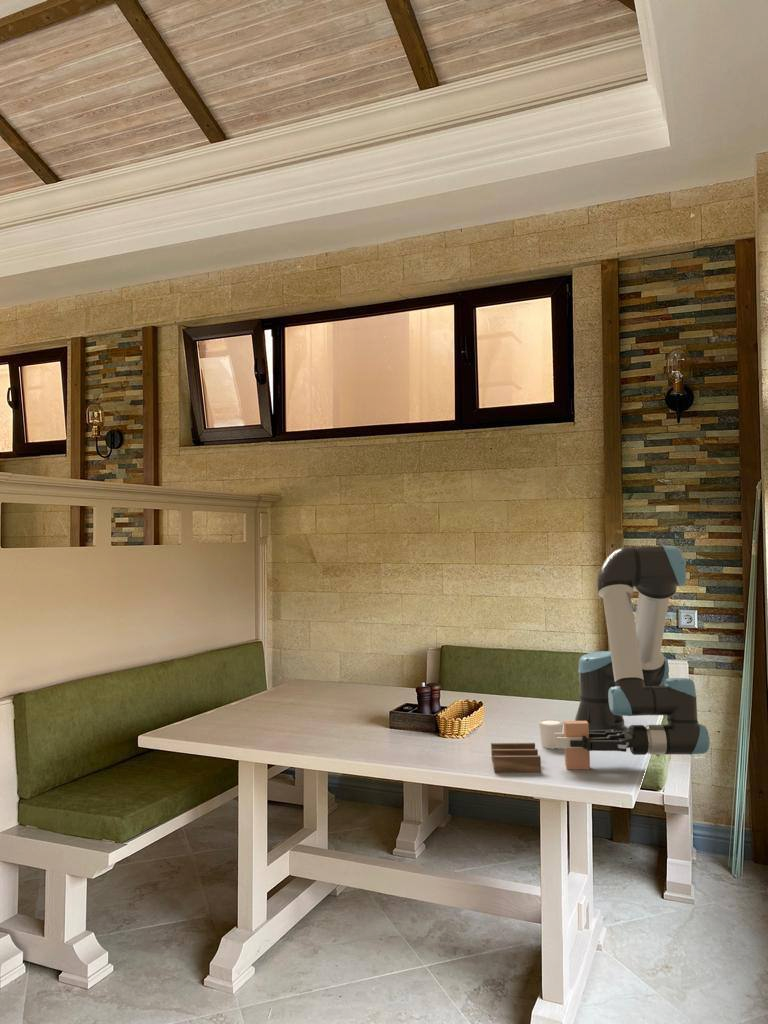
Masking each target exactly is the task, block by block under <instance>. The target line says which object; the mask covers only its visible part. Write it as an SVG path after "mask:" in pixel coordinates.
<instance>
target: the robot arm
mask: <svg viewBox="0 0 768 1024" xmlns="http://www.w3.org/2000/svg"><path fill="white" fill-rule="evenodd" d="M686 581H687V570H686V563H685V560H684V556H683V553H682V551H681V550H680V548H679V547H677V546H674V545H664V544H662V546H661V545H660V546H659V545H656V546H654V545H653V546H652V545H651V546H647V545H645V546H623V547H622V546H621V547H619V548H616V549H615V550H614V551H612V552H611V553H610V554H609V555H608V556H607V557H606V558H605V560H604V561H603V563H602V564H601V567H600V568H599V572H598V576H597V593H598V596H599V597H601V598H602V601H603V608H604V609H603V610H604V615H605V617H604V618H605V622H606V623H605V624H606V629H607V637H608V643H609V650H607V651H605V650H603V651H595V652H588V653H586V654H583V655H582V656H581V657H580V658H579V660H578V670H577V671H578V677H579V678H578V681H579V682H578V683H579V705H578V709H577V712H576V715H575V719H574V721H587V722H588V724H589V738H586V736H584V735H583V740H582V737H564V732H562V733H554V741H555V744H557V748H558V749H565V748H584V749H587V750H588V751H590V752H597V751H598V752H623V753H626V752H627V749H629V751H630V753H631V754H632V755H635V756H638V755H640V756H644V755H647V754H648V755H655V756H656V757H660V756H661V755H690V756H691V755H701V754H702V755H703V754H707V752H708V751H709V749H710V744H711V743H710V736H709V730H708V728H707V727H706V725H704V724H701V723H699V721H698V707H697V703H698V702H697V693H696V692H697V691H696V685H695V682H694V681H693V680H692V678H687V677H685V678H684V677H671V678H670V675H669V672H670V667H669V666H670V665H669V662H668V660H667V658H666V657H665V656H664V654H663V653H662V651H661V650H662V644H663V640H664V639H663V638H664V632H665V627H666V626H665V625H666V620H667V613H668V608H669V602H670V598H672V597H673V596H674V595H675V594H676V593H677V588H678V587H683V586H685V584H686V583H687V582H686ZM634 588H635V590H636V592H638V598H637V605H636V611H635V612H636V613H635V614H634V611H633V609H634V608H633V602H632V598H631V597H632V596H631V595H632V594H633V593H634ZM634 615H635V616H634ZM624 716H625V717H633V716H634V717H635V716H636V717H637V716H638V717H639V716H666V722H667V724H646V725H643V724H631V725H629V727H628V731H627V732H623V731H622V730H624V729H625V728H626V727H625V718H624Z"/></svg>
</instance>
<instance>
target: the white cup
mask: <svg viewBox="0 0 768 1024" xmlns="http://www.w3.org/2000/svg"><path fill="white" fill-rule="evenodd" d="M538 727H539V734H540V742H541V747H542V748H544V747H545V748H544V749H547V748H552V749H551V750H554V749H553V748H557V744H555V741H554V733H563V730H564V721H561V720H557V719H544V720H539V721H538Z"/></svg>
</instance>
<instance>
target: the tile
mask: <svg viewBox="0 0 768 1024" xmlns="http://www.w3.org/2000/svg"><path fill="white" fill-rule="evenodd" d="M563 733H564V737H582V740H583V735H584V736H586V738H589V724H588V722H587V721H575V720H563ZM590 752H591V751H588V750H587V749H584V748H564V766H566V767H565V769H566V770H567V769H590V770H591V759H590V757H591V756H590V754H591V753H590Z"/></svg>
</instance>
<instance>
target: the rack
mask: <svg viewBox="0 0 768 1024" xmlns="http://www.w3.org/2000/svg"><path fill="white" fill-rule="evenodd" d="M490 748H491V752H490V753H491V761H492V762H491V763H492V765H493V772H494V773H541V772H542V769H541V768H542V763H541V762H542V761H541V755H539V750H538V748H536V743H535V742H491V743H490Z"/></svg>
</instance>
